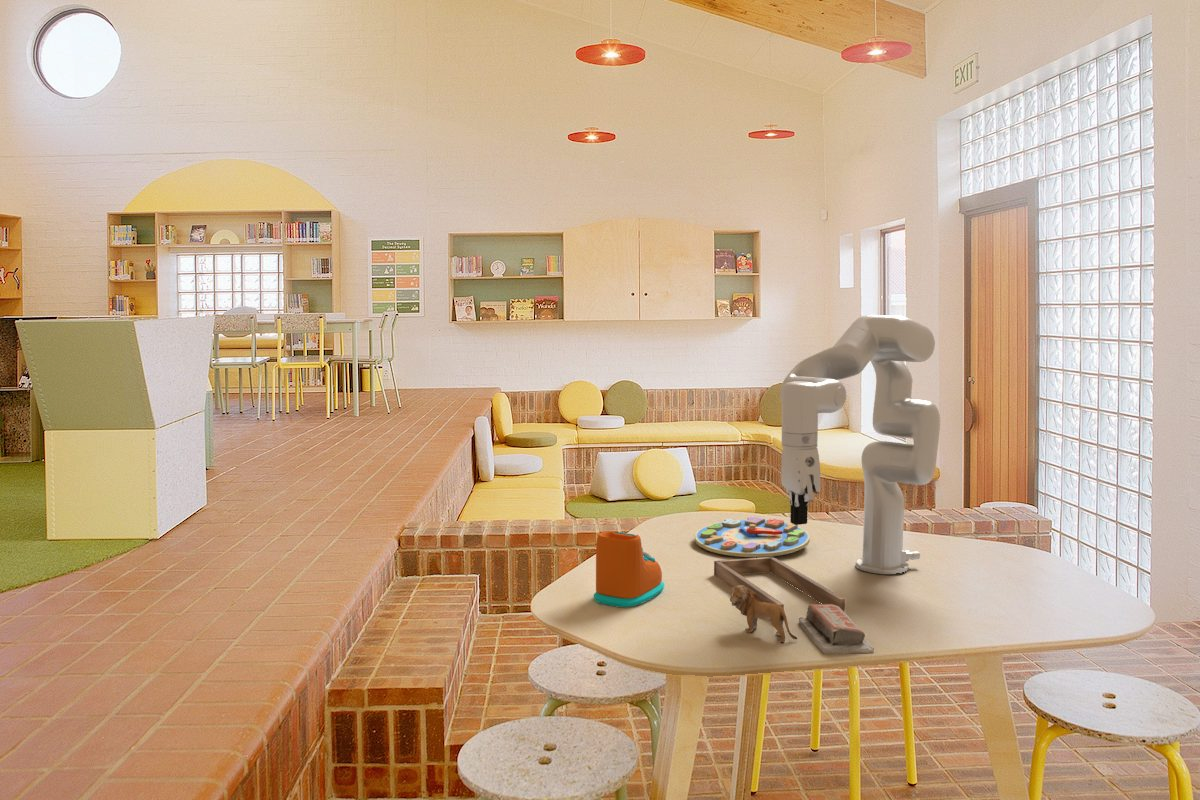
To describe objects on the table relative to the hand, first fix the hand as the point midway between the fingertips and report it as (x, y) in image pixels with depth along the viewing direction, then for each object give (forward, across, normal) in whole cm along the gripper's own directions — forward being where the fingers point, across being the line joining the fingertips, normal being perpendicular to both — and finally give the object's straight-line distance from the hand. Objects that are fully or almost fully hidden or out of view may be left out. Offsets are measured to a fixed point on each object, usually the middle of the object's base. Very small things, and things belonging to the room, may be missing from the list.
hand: (798, 523), depth 214 cm
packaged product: (+19, -20, +2) cm, 27 cm away
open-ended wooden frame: (+18, +9, +1) cm, 21 cm away
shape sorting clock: (+20, +51, -12) cm, 56 cm away
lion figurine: (+18, -14, +16) cm, 28 cm away
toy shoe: (+18, +17, +33) cm, 41 cm away
